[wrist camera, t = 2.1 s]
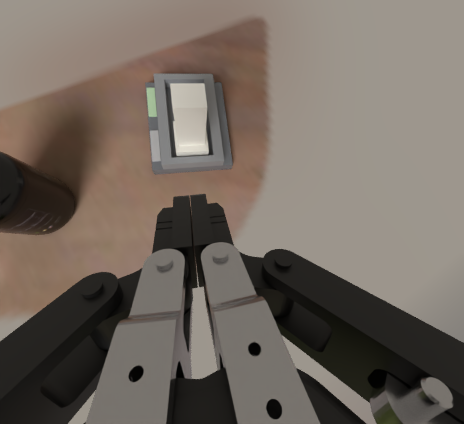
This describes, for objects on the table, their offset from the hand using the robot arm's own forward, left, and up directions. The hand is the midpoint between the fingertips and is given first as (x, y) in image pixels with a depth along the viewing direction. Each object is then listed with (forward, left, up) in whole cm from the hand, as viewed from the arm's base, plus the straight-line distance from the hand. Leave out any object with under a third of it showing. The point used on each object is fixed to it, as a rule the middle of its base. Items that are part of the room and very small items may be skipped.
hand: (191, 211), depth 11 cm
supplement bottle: (-17, +5, -18) cm, 25 cm away
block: (+1, +12, -16) cm, 19 cm away
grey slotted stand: (+1, +14, -17) cm, 23 cm away
